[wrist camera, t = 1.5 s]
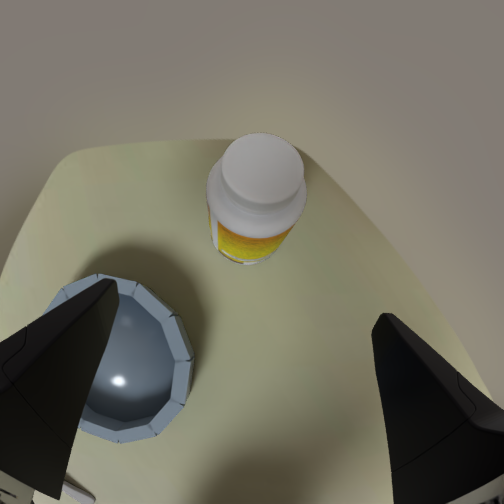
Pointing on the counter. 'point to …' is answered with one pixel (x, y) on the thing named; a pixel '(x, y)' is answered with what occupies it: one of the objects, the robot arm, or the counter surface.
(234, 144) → the supplement bottle
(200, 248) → the counter surface
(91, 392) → the bowl
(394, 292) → the counter surface
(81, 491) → the spoon
